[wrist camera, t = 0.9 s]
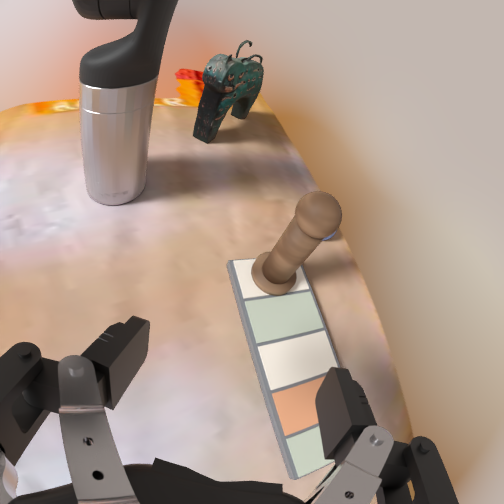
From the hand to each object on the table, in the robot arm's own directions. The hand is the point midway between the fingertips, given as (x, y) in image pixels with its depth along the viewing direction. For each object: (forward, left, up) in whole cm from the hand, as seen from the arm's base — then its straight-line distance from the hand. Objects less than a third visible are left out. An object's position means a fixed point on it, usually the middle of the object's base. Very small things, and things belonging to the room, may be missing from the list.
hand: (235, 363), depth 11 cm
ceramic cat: (-47, +14, -18) cm, 52 cm away
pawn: (-12, +13, -16) cm, 24 cm away
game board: (-1, +13, -17) cm, 21 cm away
